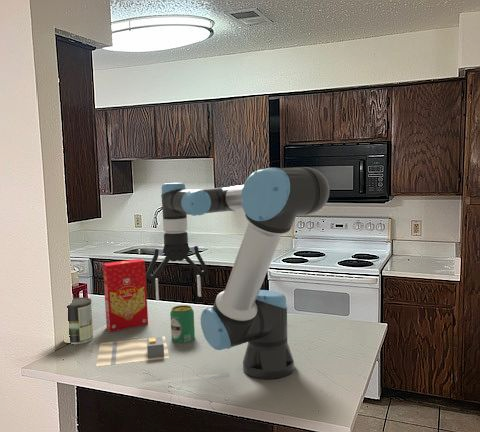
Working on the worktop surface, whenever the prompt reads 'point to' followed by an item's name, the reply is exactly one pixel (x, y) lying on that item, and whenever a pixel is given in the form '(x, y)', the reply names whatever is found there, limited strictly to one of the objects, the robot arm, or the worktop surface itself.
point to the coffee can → (80, 320)
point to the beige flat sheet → (126, 352)
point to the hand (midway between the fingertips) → (178, 297)
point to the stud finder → (155, 347)
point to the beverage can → (182, 324)
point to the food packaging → (125, 294)
